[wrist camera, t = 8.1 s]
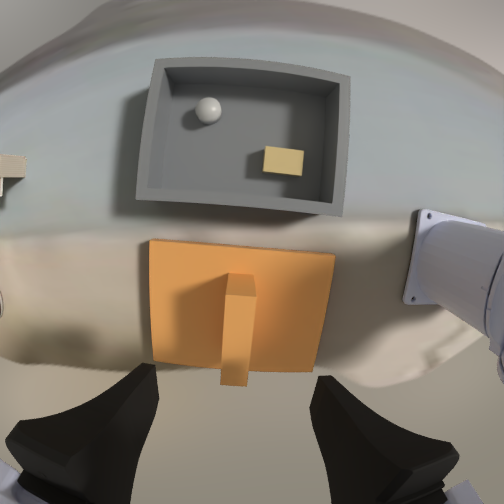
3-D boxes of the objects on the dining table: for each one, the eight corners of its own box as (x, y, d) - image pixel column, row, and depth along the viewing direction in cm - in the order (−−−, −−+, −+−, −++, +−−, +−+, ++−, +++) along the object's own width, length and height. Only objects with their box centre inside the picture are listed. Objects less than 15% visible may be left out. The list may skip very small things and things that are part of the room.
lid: (327, 250, 20) (359, 272, 14) (307, 359, 22) (324, 404, 16) (157, 236, 19) (126, 253, 13) (159, 349, 21) (138, 392, 15)
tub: (333, 93, 17) (350, 76, 14) (324, 212, 19) (341, 217, 15) (168, 79, 16) (155, 59, 13) (153, 198, 18) (135, 199, 15)
